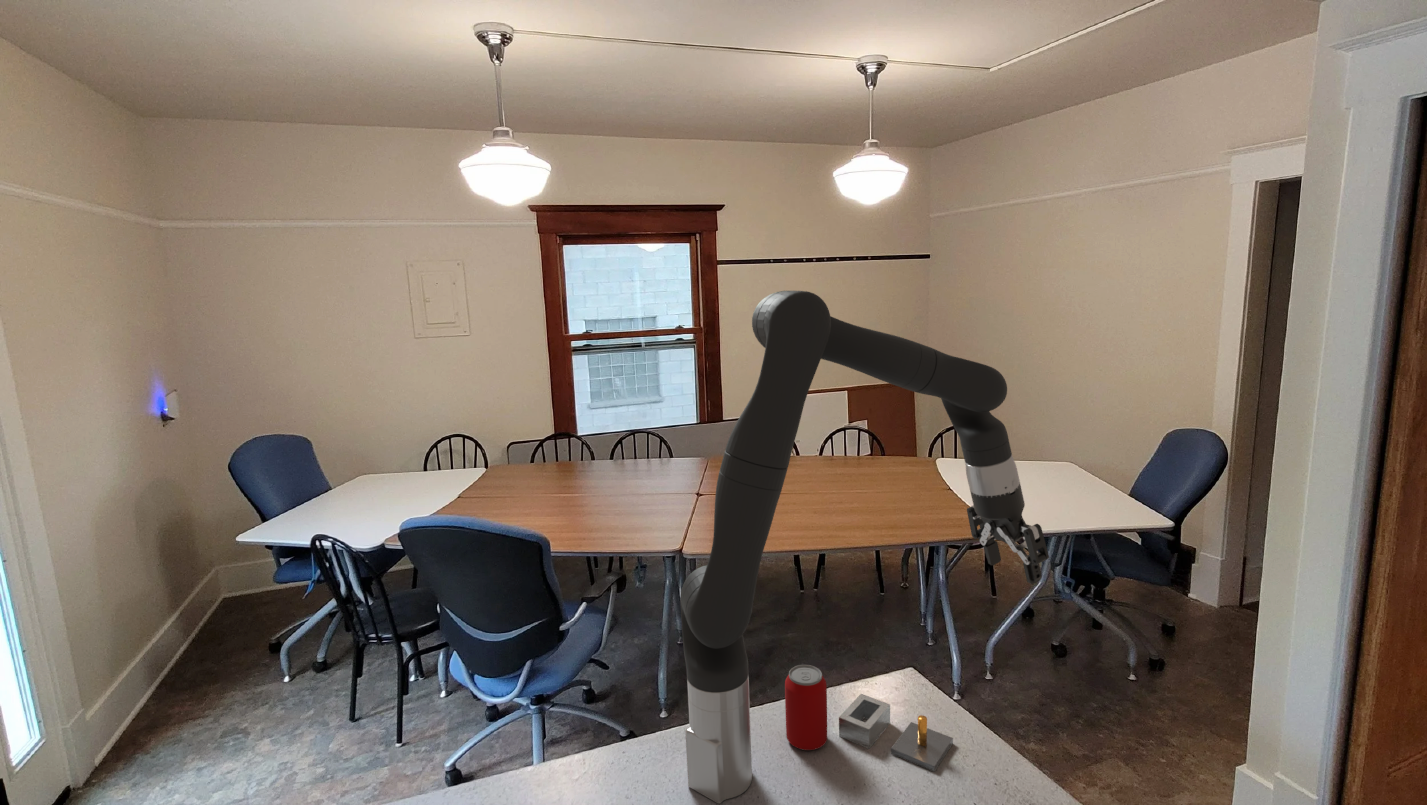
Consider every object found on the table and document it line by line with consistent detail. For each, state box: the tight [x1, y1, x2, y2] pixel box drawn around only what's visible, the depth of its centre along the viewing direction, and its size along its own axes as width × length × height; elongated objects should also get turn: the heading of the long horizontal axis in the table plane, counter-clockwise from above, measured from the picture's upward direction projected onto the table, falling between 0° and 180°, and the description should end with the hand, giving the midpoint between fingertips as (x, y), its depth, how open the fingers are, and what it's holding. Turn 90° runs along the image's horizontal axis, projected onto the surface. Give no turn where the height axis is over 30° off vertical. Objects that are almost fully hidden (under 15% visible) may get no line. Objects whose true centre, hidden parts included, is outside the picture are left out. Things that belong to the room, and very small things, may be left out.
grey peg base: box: [890, 714, 954, 773], centre depth 107 cm, size 8×7×5 cm
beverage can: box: [784, 664, 828, 751], centre depth 109 cm, size 7×7×12 cm
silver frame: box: [838, 693, 891, 750], centre depth 112 cm, size 8×5×4 cm
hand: (1014, 571), depth 110 cm, fingers open, 8 cm apart
